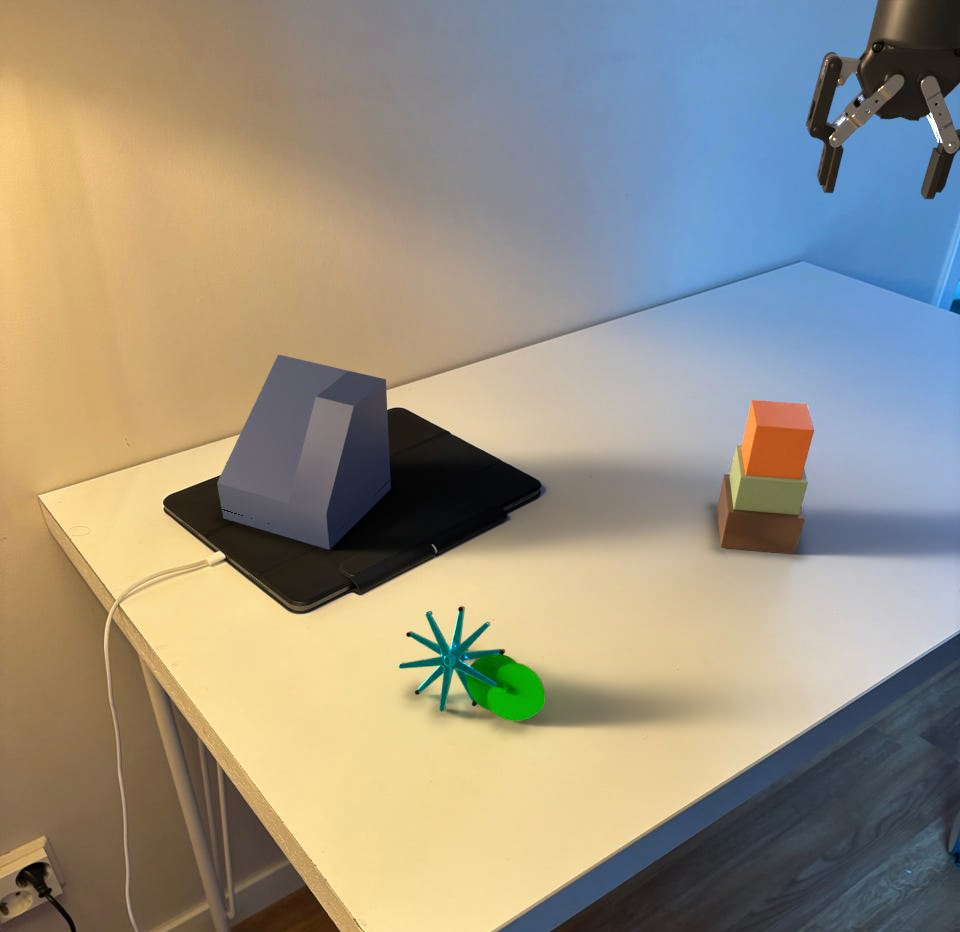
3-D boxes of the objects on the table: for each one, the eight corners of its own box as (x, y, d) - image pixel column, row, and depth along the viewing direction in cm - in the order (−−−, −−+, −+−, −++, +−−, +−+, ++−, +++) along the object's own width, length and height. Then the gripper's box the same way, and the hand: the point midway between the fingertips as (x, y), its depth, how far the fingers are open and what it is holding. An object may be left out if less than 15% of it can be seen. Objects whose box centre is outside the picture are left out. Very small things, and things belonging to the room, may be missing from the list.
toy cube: (794, 452, 93) (807, 403, 90) (801, 479, 89) (814, 430, 86) (741, 448, 93) (751, 399, 90) (745, 475, 90) (756, 425, 86)
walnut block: (787, 514, 98) (796, 479, 96) (795, 554, 93) (805, 519, 91) (716, 508, 99) (723, 473, 96) (720, 547, 94) (728, 512, 91)
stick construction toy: (379, 680, 75) (424, 590, 74) (400, 668, 82) (441, 586, 81) (517, 755, 74) (565, 665, 73) (527, 737, 81) (571, 654, 80)
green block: (791, 481, 96) (800, 449, 93) (799, 515, 91) (808, 482, 89) (729, 476, 96) (736, 444, 94) (733, 510, 92) (740, 477, 89)
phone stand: (223, 518, 96) (203, 405, 88) (291, 461, 104) (278, 354, 97) (329, 549, 92) (318, 435, 85) (390, 488, 101) (385, 379, 93)
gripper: (848, -25, 74) (799, 202, 84) (1047, -18, 72) (971, 212, 83) (834, -38, 79) (789, 177, 90) (1018, -31, 78) (950, 186, 89)
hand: (876, 193), depth 86 cm, fingers open, 8 cm apart
